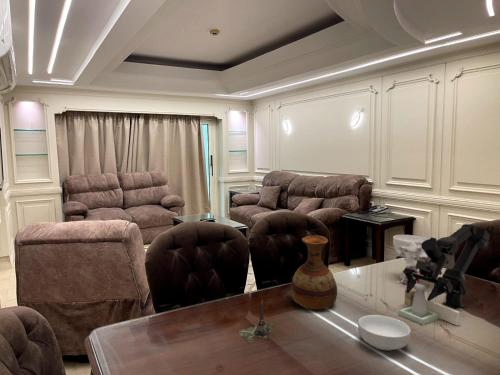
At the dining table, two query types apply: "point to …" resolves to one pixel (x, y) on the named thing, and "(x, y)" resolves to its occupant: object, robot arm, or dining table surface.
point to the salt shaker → (419, 301)
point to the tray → (422, 321)
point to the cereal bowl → (384, 332)
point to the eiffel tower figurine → (257, 329)
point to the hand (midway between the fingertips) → (417, 296)
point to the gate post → (409, 298)
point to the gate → (443, 312)
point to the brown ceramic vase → (314, 277)
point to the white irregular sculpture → (409, 251)
